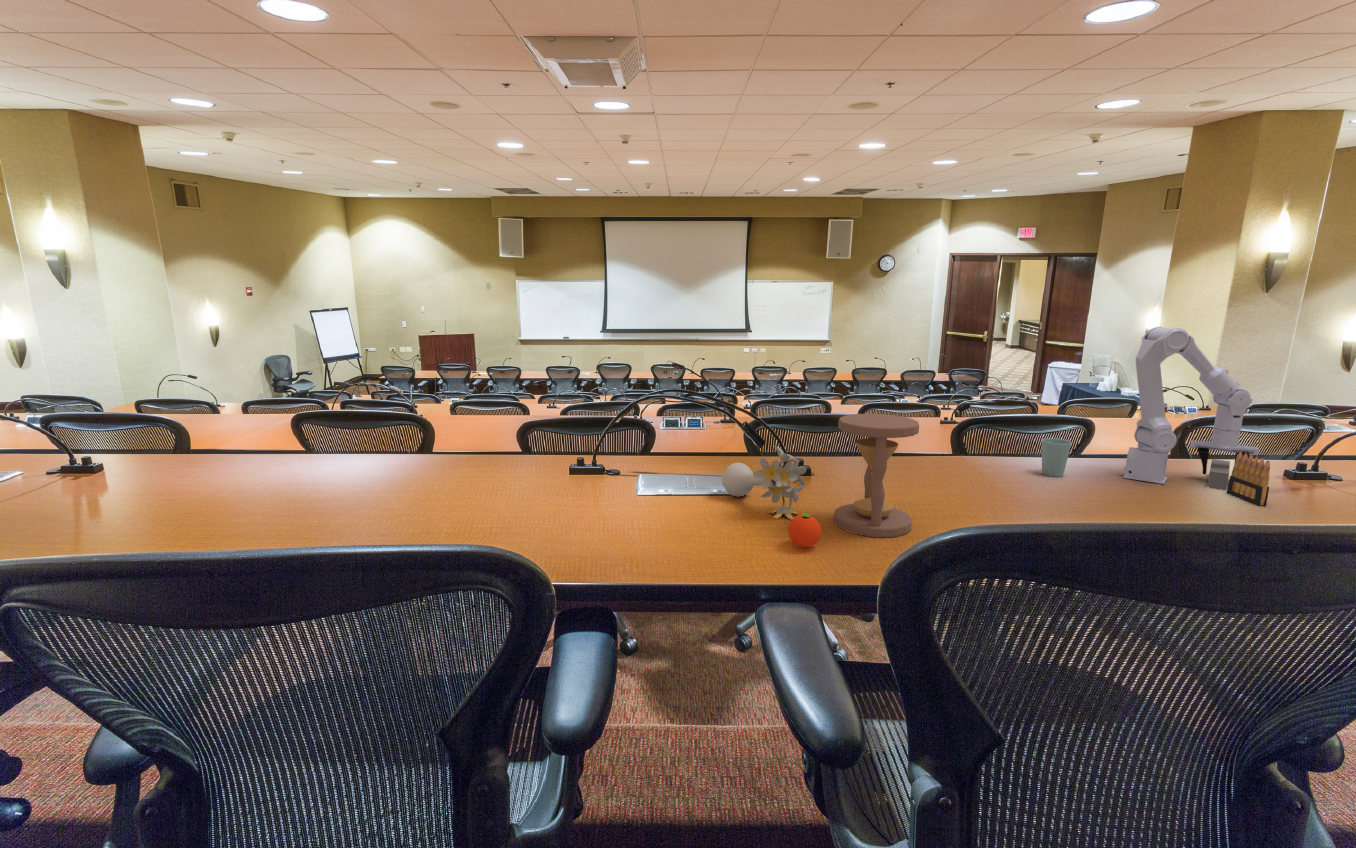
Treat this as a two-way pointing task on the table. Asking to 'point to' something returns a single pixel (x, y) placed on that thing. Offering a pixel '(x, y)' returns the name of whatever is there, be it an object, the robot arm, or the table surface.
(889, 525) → the hourglass
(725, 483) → the flower vase
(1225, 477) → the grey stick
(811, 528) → the clementine
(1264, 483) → the ammunition clip
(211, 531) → the table surface
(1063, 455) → the cup
